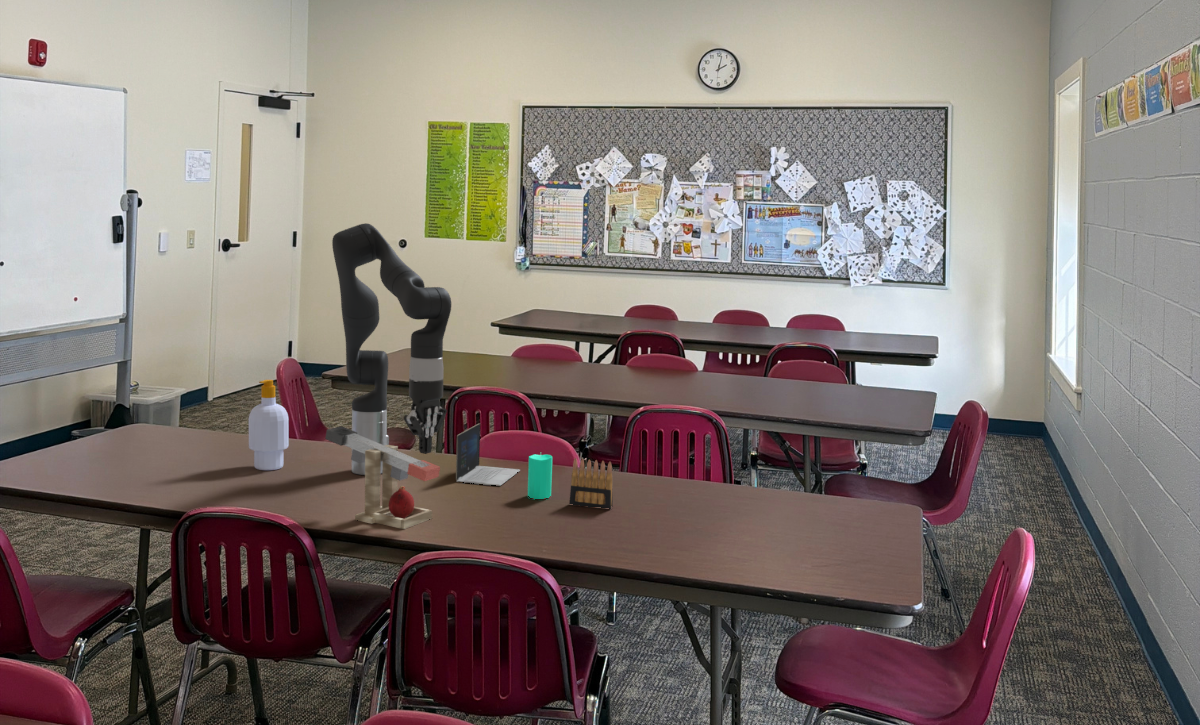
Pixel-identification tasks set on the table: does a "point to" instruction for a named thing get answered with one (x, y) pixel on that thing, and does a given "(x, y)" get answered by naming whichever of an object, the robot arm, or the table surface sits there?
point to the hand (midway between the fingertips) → (425, 452)
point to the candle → (540, 476)
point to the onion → (401, 503)
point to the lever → (383, 455)
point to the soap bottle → (268, 430)
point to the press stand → (384, 495)
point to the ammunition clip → (591, 485)
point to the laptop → (477, 461)
